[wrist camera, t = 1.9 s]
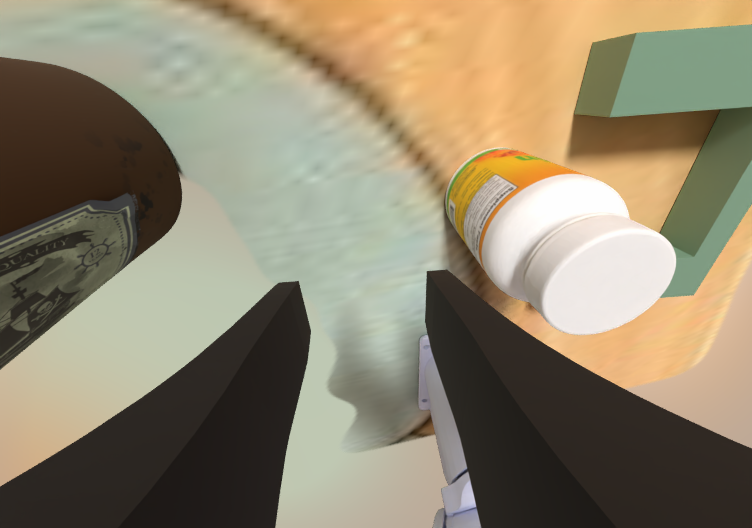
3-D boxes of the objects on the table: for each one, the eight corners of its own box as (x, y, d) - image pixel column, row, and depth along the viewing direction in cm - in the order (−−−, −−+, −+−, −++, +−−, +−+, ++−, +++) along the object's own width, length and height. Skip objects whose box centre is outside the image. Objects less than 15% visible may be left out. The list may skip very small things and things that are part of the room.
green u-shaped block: (659, 274, 21) (693, 295, 19) (529, 284, 21) (549, 306, 19) (790, 28, 14) (872, 15, 11) (592, 42, 13) (636, 33, 11)
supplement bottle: (553, 172, 17) (746, 251, 8) (495, 247, 19) (599, 366, 11) (479, 127, 15) (622, 168, 7) (426, 214, 18) (485, 322, 9)
